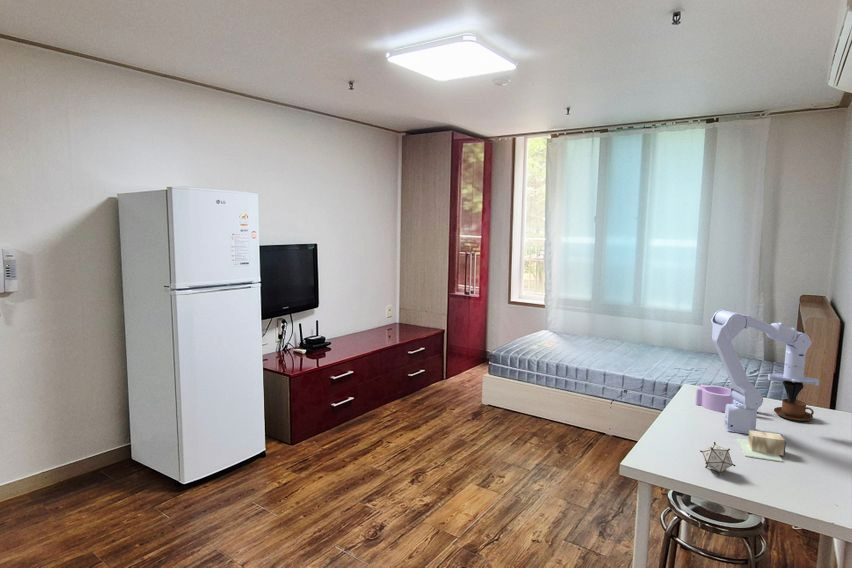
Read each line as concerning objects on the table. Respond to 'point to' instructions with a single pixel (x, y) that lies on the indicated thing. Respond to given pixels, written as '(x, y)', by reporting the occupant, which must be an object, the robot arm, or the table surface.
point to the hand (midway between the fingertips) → (790, 402)
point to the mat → (760, 455)
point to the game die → (717, 458)
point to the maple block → (767, 442)
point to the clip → (713, 397)
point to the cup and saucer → (794, 410)
